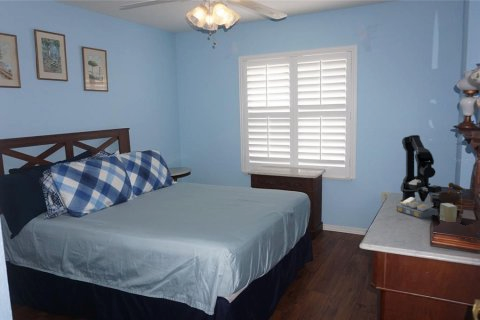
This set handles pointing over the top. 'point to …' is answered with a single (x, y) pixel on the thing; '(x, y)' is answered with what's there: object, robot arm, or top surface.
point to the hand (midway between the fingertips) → (422, 202)
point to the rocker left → (408, 201)
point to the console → (416, 211)
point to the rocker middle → (416, 203)
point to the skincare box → (448, 212)
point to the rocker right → (424, 206)
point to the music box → (452, 198)
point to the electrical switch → (436, 201)
